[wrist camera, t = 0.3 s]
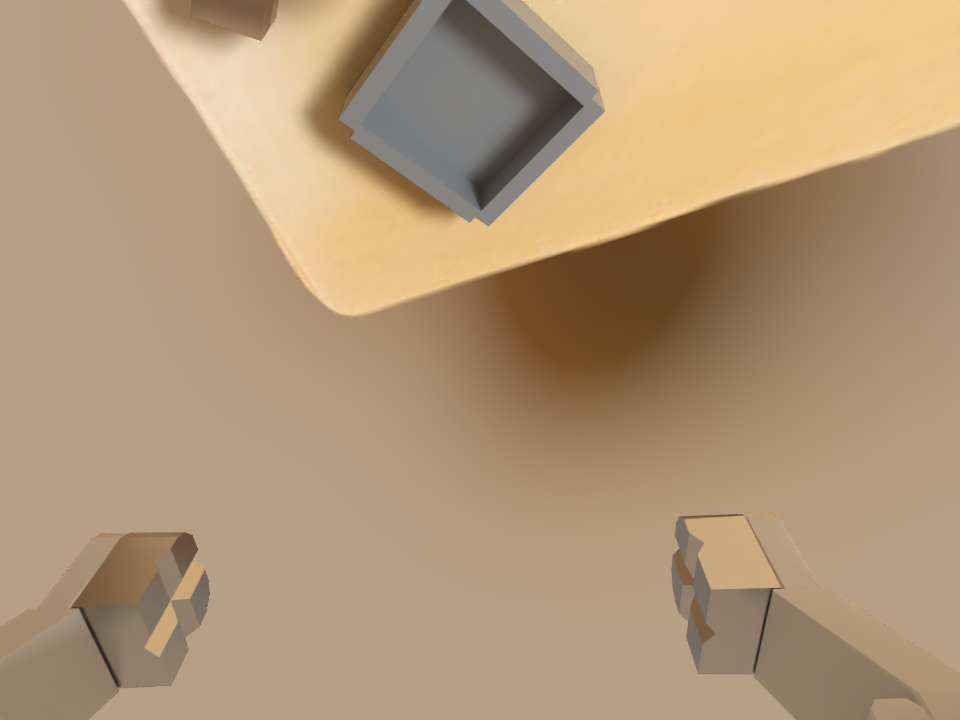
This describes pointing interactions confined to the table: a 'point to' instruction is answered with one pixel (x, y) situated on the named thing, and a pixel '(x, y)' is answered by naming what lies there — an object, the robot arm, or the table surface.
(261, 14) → the walnut block
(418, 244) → the table surface
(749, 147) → the table surface
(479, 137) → the gray square tray
